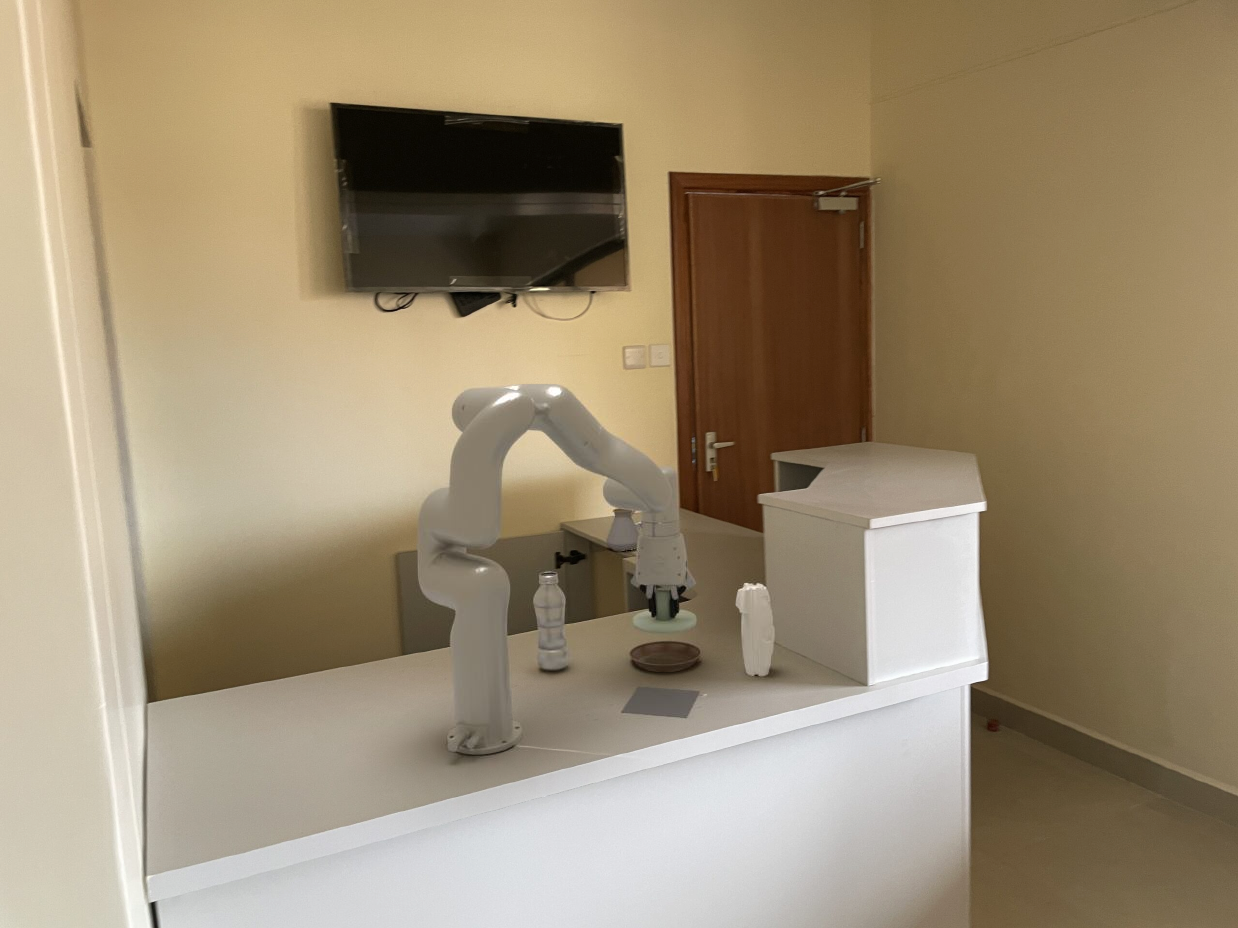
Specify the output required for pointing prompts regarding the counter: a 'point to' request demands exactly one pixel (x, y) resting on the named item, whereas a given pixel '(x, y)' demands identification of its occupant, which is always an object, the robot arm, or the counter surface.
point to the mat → (661, 702)
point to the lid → (664, 616)
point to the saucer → (665, 655)
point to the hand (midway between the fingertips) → (664, 614)
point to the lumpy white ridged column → (756, 628)
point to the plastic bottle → (550, 623)
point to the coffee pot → (622, 531)
